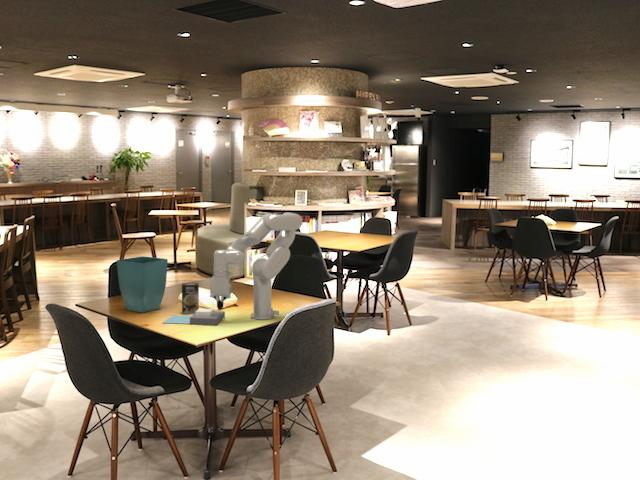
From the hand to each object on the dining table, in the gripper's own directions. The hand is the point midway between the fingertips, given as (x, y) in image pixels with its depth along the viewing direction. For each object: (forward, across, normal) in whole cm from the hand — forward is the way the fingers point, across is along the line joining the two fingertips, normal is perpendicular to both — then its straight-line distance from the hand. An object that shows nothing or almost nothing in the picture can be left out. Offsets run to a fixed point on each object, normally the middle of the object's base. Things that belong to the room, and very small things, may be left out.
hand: (220, 308), depth 327 cm
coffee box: (+7, +21, -17) cm, 28 cm away
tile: (+4, +8, -1) cm, 9 cm away
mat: (+8, +21, -1) cm, 22 cm away
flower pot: (+8, +49, -20) cm, 54 cm away
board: (+7, +7, -1) cm, 10 cm away
